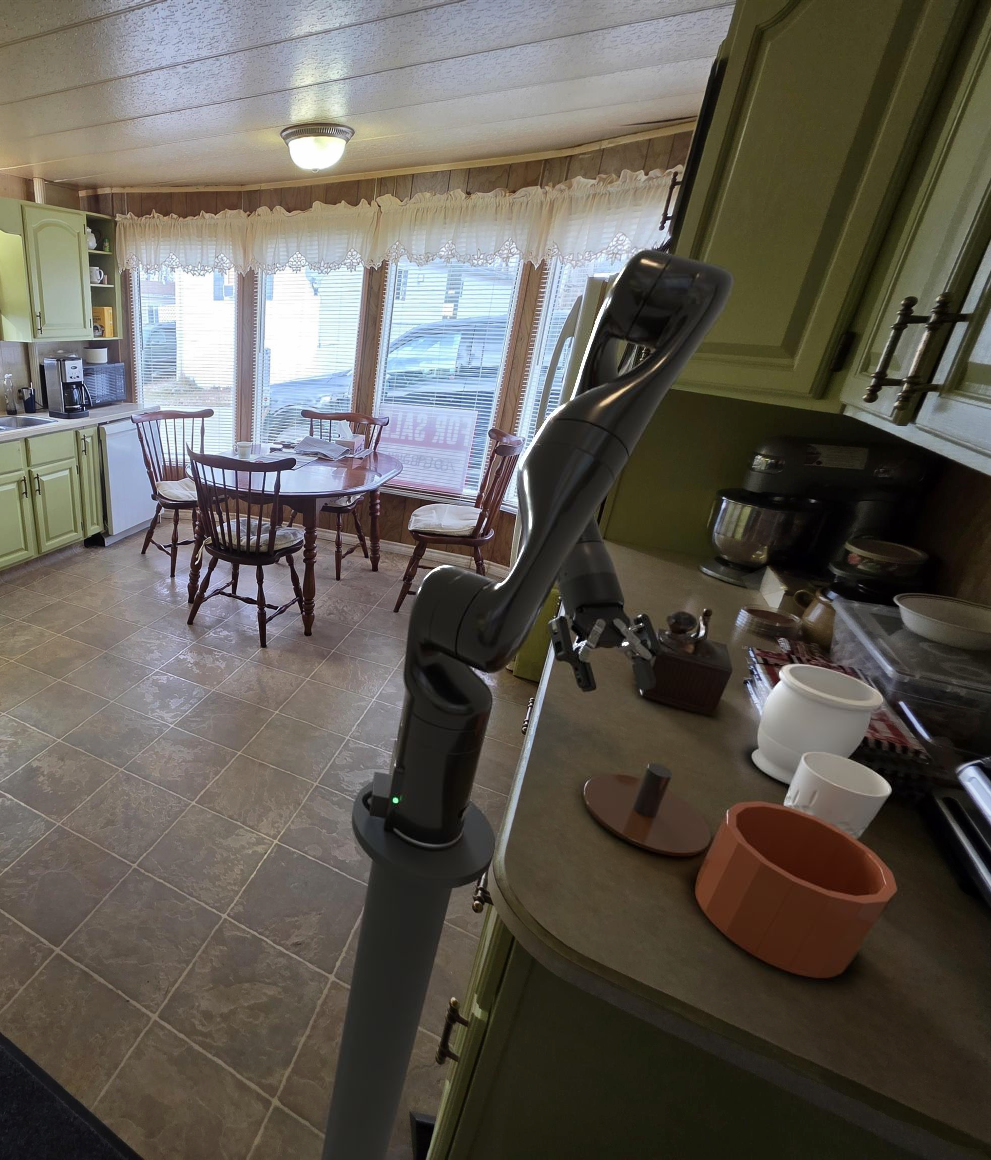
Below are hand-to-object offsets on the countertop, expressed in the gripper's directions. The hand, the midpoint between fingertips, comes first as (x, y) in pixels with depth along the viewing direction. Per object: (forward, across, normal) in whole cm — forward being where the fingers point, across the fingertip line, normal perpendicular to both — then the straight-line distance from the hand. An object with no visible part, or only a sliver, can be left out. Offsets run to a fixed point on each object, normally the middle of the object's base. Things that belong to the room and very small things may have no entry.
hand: (619, 689), depth 83 cm
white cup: (+20, +20, 0) cm, 28 cm away
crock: (+27, +3, -8) cm, 28 cm away
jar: (+11, +28, +8) cm, 32 cm away
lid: (+16, 0, +2) cm, 16 cm away
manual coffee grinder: (-2, +26, +20) cm, 33 cm away
